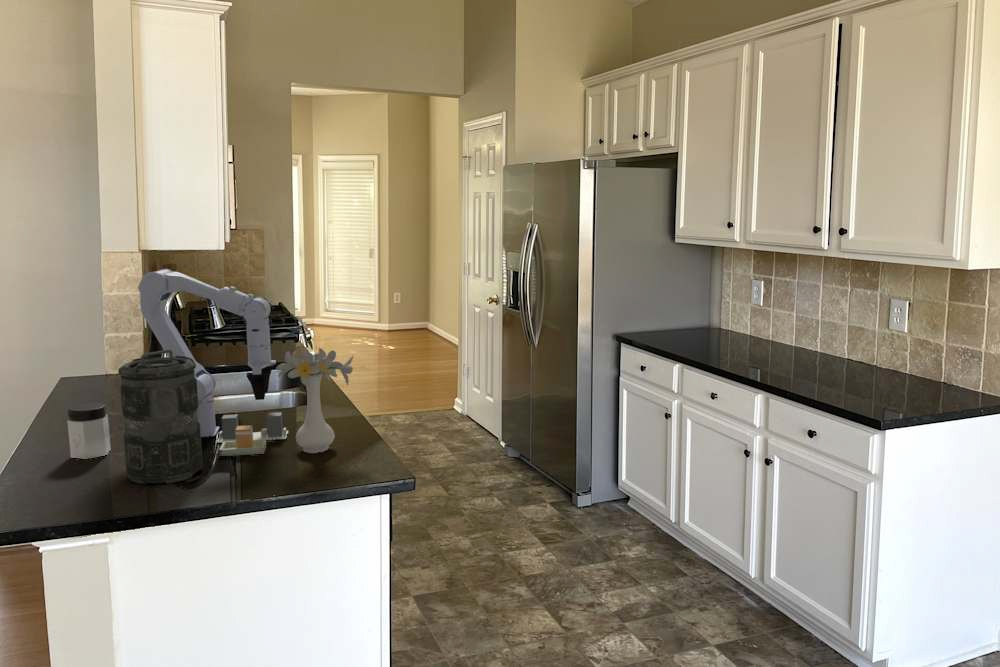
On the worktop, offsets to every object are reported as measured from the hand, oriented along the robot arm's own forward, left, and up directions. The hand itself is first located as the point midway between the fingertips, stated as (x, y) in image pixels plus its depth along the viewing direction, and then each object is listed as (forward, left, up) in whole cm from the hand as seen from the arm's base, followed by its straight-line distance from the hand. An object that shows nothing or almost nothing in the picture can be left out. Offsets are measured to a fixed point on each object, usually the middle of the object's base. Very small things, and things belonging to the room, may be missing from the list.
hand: (261, 395), depth 213 cm
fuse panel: (-2, -5, -10) cm, 11 cm away
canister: (-18, -30, -10) cm, 36 cm away
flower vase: (+15, -17, -10) cm, 25 cm away
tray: (-3, -16, -10) cm, 19 cm away
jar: (-39, -12, -10) cm, 42 cm away
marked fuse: (-3, -16, -9) cm, 19 cm away
